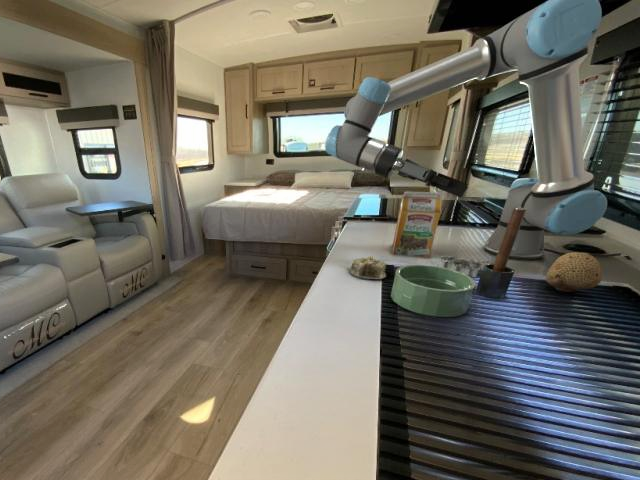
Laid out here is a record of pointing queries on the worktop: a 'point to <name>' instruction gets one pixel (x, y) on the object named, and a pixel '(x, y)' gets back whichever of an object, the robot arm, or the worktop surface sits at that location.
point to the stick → (509, 239)
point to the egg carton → (463, 265)
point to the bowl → (432, 290)
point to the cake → (368, 268)
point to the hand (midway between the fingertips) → (464, 191)
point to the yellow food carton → (417, 223)
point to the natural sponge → (574, 272)
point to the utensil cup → (494, 282)
